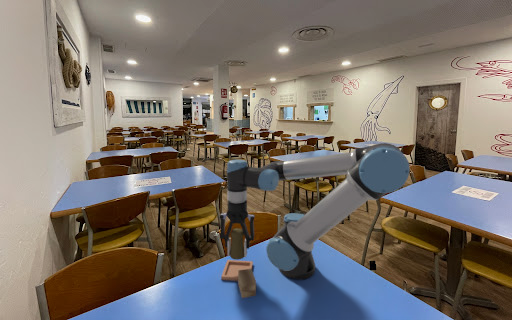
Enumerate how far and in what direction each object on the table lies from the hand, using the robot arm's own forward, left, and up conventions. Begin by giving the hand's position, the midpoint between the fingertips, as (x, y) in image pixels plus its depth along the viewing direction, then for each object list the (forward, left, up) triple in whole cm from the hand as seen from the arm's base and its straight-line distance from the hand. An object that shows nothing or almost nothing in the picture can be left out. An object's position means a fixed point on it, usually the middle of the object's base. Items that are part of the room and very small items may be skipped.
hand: (237, 254), depth 97 cm
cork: (0, 0, 0) cm, 0 cm away
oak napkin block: (-5, +10, -8) cm, 14 cm away
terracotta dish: (0, 0, -8) cm, 8 cm away
